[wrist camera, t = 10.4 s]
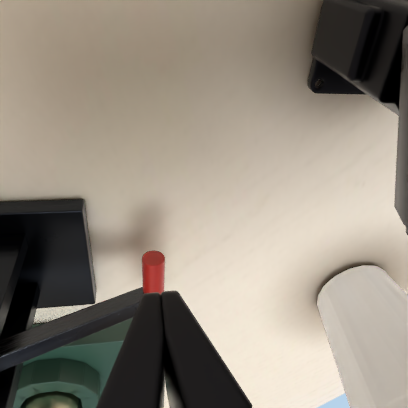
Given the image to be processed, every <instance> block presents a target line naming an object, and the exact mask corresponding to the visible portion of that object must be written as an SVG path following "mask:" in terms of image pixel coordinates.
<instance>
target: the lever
mask: <svg viewBox="0 0 408 408" xmlns="http://www.w3.org/2000/svg"><path fill="white" fill-rule="evenodd" d="M164 272H165V257H164V255H163V254H162V253H161V252H159V251H149V252H146V253H145V254H144V255H143V257H142V276H143V287H141V288H138V289H135V290H133V291H130V292H127V293H125V294H122V295H119V296H117V297H114V298H111V299H109V300H106V301H103V302H101V303H98V304H95V305H92V306H90V307H87V308H84V309H82V310H79V311H76V312H74V313H71V314H68V315H66V316H63V317H60V318H58V319H55V320H52V321H50V322H47V323H44V324H41V325H39V326H36V327H33V328H31V329H28V330H25V331H23V332H20V333H17V334H15V335H12V336H9V337H7V338H4V339H1V340H0V372H1V371H3V370H5V369H8V368H10V367H13V366H15V365H18V364H20V363H23V362H25V361H27V360H30V359H32V358H35V357H37V356H40V355H42V354H45V353H47V352H50V351H52V350H54V349H57V348H59V347H62V346H64V345H67V344H69V343H72V342H74V341H77V340H79V339H81V338H84V337H86V336H89V335H91V334H94V333H96V332H99V331H101V330H104V329H106V328H108V327H111V326H113V325H116V324H118V323H121V322H123V321H126V320H128V319H130V318H133V317H134V314H135V312H136V310H137V307H138V305H139V302H140V300H141V297H142V296H143V294H145V293H153V292H158V293H160V296H161V293H162V292H164Z"/></svg>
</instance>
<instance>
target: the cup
mask: <svg viewBox="0 0 408 408" xmlns="http://www.w3.org/2000/svg"><path fill="white" fill-rule="evenodd" d="M317 307H318V310H319V313H320V316H321V319H322V322H323V325H324V328H325V331H326V334H327V337H328V341H329V344H330V347H331V350H332V353H333V356H334V359H335V362H336V365H337V368H338V372H339V375H340V378H341V381H342V384H343V387H344V390H345V393H346V396H347V399H348V403H349V406H350V408H408V294H407V293H406V292H405V291H404V290H403V289H402V288H401V287H400V286H399V285H398V284H397V283H396V282H395V281H394V280H393V279H392V278H391V277H390V276H389V275H388V274H387V272H386V271H385V270H383V269H381V268H379V267H378V266H367V265H363V266H359V267H354V268H350V269H348V270H346V271H344V272H342V273H340V274H338V275H336V276H334V277H333V278H332V279H331V280H330V281H329V282H328V283H326V284H325V285H324V286H323V288H322V290H321V291H320V293H319V295H318V300H317Z"/></svg>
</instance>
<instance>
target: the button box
mask: <svg viewBox="0 0 408 408" xmlns="http://www.w3.org/2000/svg"><path fill="white" fill-rule="evenodd" d="M132 319H133V318H130V319H128V320H126V321H123V322H121V323H118V324H116V325H113V326H111V327H108V328H106V329H104V330H101V331H99V332H96V333H94V334H91V335H89V336H86V337H84V338H81V339H79V340H77V341H74V342H72V343H69V344H67V345H64V346H62V347H59V348H57V349H54V350H52V351H50V352H47V353H45V354H42V355H40V356H37V357H35V358H32V359H30V360H27V361H25V362H24V363H23V367H22V372H21V376H20V380H19V384H18V388H17V393H16V397H15V401H14V405H13V408H25V406H26V402H27V400H28V398H29V397H31V396H33V395H35V394H38V393H44V392H53V391H59V392H66V393H72V394H73V395H75V396H77V397H78V400H79V403H78V408H96V406H97V404H98V401H99V399H100V397H101V394H102V392H103V389H104V387H105V385H106V382H107V380H108V377H109V375H110V372H111V370H112V368H113V365H114V363H115V360H116V358H117V356H118V353H119V351H120V348H121V346H122V343H123V341H124V339H125V336H126V334H127V331H128V329H129V327H130V324H131V322H132ZM41 324H44V323H41ZM41 324H33V325H32V328H33V327H36V326H39V325H41Z"/></svg>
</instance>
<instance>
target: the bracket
mask: <svg viewBox="0 0 408 408" xmlns="http://www.w3.org/2000/svg"><path fill="white" fill-rule="evenodd" d="M95 299H96V286H95V279H94V271H93V263H92V256H91V248H90V240H89V233H88V225H87V217H86V210H85V202H84V200H83V199H75V200H44V201H12V202H0V340H1V339H4V338H7V337H9V336H12V335H15V334H17V333H20V332H23V331H25V330H28V329H31V328H32V325H33V321H34V317H35V313H36V309H37V308H48V307H61V306H73V305H86V304H95ZM23 363H24V362H23ZM23 363H20V364H18V365H15V366H13V367H10V368H8V369H5V370H3V371H1V372H0V408H13V405H14V401H15V397H16V393H17V388H18V384H19V380H20V376H21V372H22V367H23Z"/></svg>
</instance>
